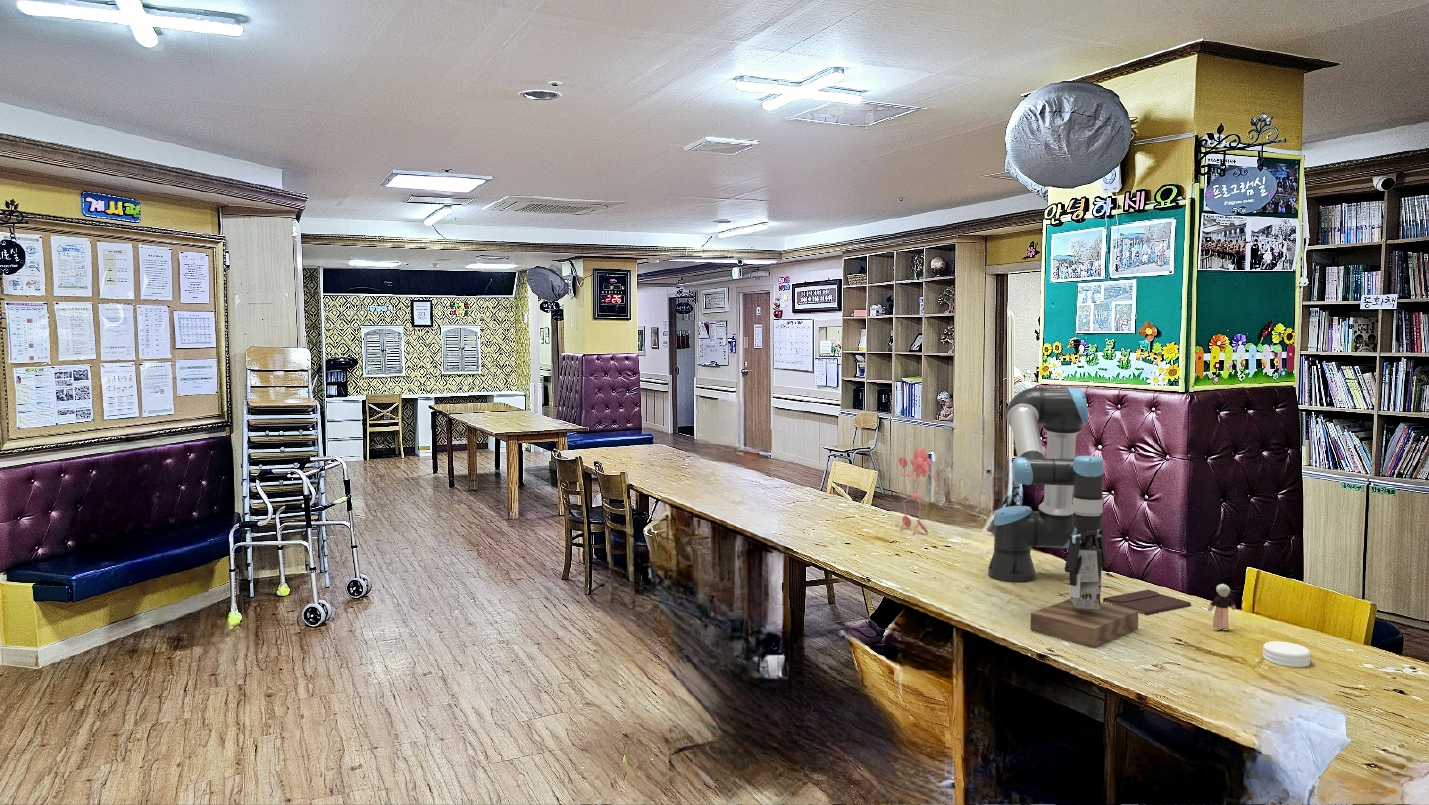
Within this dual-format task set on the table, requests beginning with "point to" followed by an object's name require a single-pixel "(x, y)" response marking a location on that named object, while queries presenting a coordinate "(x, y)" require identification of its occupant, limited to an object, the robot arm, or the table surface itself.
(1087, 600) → the coffee box
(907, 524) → the figurine
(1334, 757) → the table surface
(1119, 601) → the notebook
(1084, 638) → the walnut step
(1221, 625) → the grandmother figurine
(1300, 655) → the white round tin
